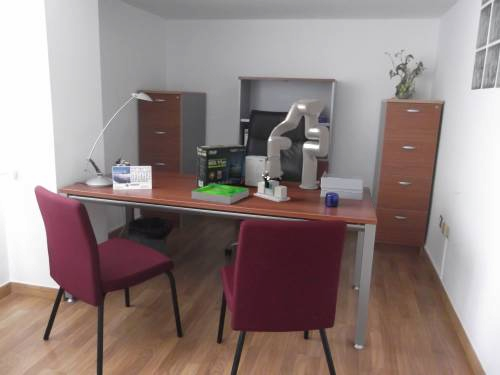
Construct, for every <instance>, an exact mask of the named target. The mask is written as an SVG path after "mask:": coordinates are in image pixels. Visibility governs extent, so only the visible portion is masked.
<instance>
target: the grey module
mask: <svg viewBox="0 0 500 375" xmlns="http://www.w3.org/2000/svg"><path fill="white" fill-rule="evenodd" d="M275 186H279V181H276V180H273V179H270V180H269V188H266V194H268V195H272V196H274V194H275Z"/></svg>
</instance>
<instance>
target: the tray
mask: <svg viewBox="0 0 500 375" xmlns="http://www.w3.org/2000/svg"><path fill="white" fill-rule="evenodd" d="M249 191H250V189H249V187H241V186H235V185H230V186H226V185H218V184H211V185H208V186H205V187H202V188H200V187H198V188H196V189H194V190H191V199H192V200H199V201H206V202H211V203H212V202H213V203H217V204H218V203H219V204H226V205H231V203H232V204H234V203H235V202H238V201H240V200H242V199H244V198H247V197H248V196H249ZM233 202H234V203H233Z"/></svg>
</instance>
